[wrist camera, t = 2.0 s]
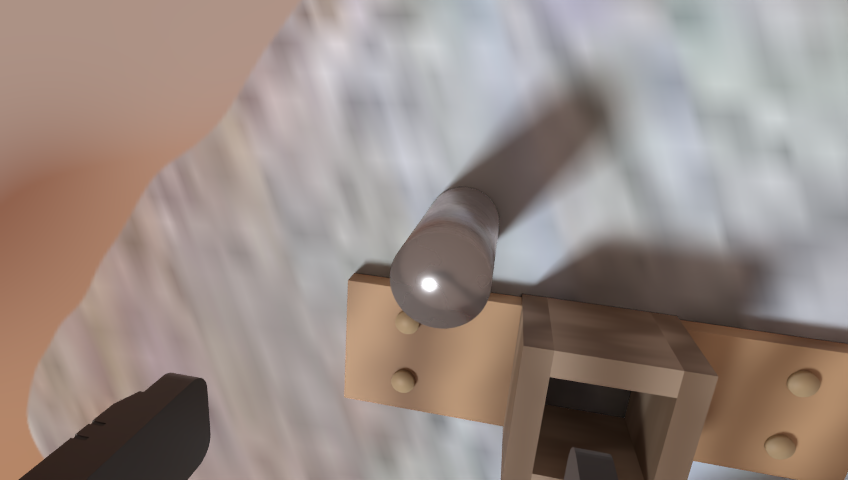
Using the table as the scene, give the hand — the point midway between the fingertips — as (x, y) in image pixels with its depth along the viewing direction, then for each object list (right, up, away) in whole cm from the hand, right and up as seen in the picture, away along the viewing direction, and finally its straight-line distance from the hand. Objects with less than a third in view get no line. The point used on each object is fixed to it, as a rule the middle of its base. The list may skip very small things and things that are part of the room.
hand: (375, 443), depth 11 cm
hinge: (+10, -3, +19) cm, 22 cm away
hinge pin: (+3, +5, +17) cm, 18 cm away
